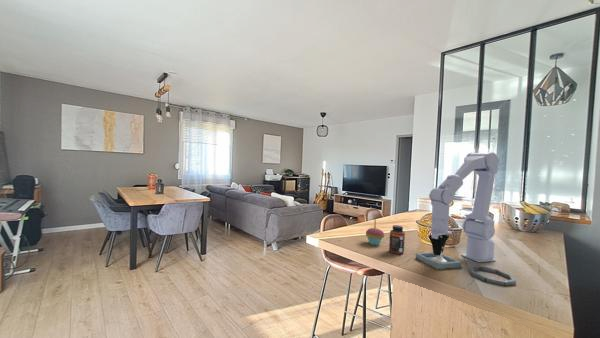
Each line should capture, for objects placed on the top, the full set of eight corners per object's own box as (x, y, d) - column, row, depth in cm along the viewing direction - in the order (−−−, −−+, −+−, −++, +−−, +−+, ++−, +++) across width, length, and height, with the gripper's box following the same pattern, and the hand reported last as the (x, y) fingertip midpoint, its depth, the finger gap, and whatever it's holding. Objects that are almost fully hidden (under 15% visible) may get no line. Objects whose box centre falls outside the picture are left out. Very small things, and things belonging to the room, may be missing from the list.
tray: (437, 256, 103) (437, 251, 103) (461, 267, 92) (461, 262, 92) (415, 258, 100) (416, 253, 100) (437, 269, 90) (437, 264, 89)
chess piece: (443, 265, 92) (444, 238, 92) (429, 260, 96) (431, 235, 96) (449, 262, 95) (450, 236, 95) (436, 258, 99) (437, 233, 99)
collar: (487, 268, 93) (487, 265, 93) (523, 283, 81) (523, 280, 81) (462, 270, 89) (462, 267, 89) (496, 287, 78) (496, 283, 78)
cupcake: (364, 240, 122) (365, 215, 122) (382, 241, 121) (383, 217, 121) (366, 245, 113) (367, 219, 113) (385, 247, 112) (387, 221, 112)
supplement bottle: (405, 255, 103) (406, 228, 103) (390, 253, 104) (391, 227, 104) (402, 250, 109) (403, 225, 108) (388, 249, 110) (389, 223, 110)
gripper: (447, 223, 88) (445, 261, 88) (455, 218, 99) (453, 251, 99) (426, 220, 93) (424, 255, 93) (435, 215, 103) (434, 247, 104)
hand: (438, 253), depth 96 cm, fingers open, 3 cm apart
